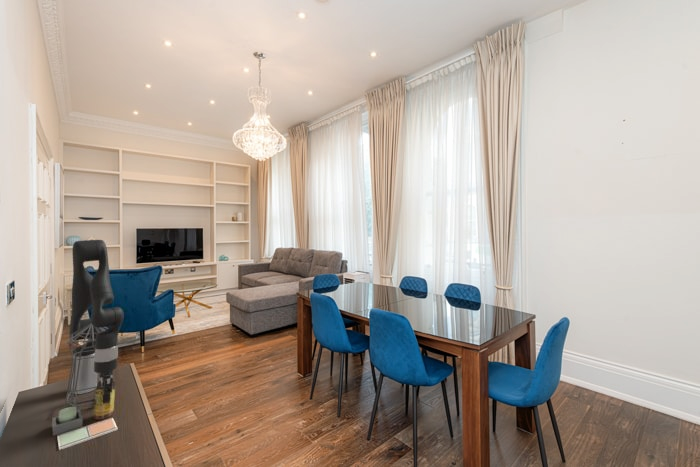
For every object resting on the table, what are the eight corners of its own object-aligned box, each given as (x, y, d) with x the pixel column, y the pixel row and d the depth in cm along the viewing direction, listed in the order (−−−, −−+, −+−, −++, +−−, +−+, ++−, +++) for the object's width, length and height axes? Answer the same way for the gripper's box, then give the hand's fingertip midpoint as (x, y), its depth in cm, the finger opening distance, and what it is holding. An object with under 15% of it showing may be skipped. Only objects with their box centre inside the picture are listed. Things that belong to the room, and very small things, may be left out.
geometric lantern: (64, 403, 134) (70, 321, 136) (110, 393, 143) (115, 317, 145) (59, 419, 121) (66, 329, 123) (110, 407, 131) (115, 324, 133)
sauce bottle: (90, 421, 120) (92, 370, 121) (98, 413, 126) (100, 364, 127) (110, 419, 122) (111, 368, 123) (117, 410, 128) (118, 362, 129)
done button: (58, 420, 117) (58, 410, 117) (75, 415, 121) (75, 405, 121) (58, 426, 114) (59, 415, 114) (76, 420, 117) (77, 410, 117)
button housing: (52, 426, 117) (52, 418, 117) (80, 418, 123) (80, 409, 123) (53, 435, 111) (53, 426, 112) (82, 426, 117) (82, 418, 117)
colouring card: (57, 437, 111) (57, 434, 111) (112, 419, 122) (112, 417, 122) (59, 450, 104) (59, 448, 104) (117, 429, 115) (117, 427, 115)
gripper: (91, 355, 127) (90, 396, 127) (97, 365, 117) (95, 409, 117) (114, 351, 133) (113, 390, 132) (121, 360, 123) (119, 402, 122)
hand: (104, 399), depth 124 cm, fingers closed on sauce bottle, 6 cm apart
